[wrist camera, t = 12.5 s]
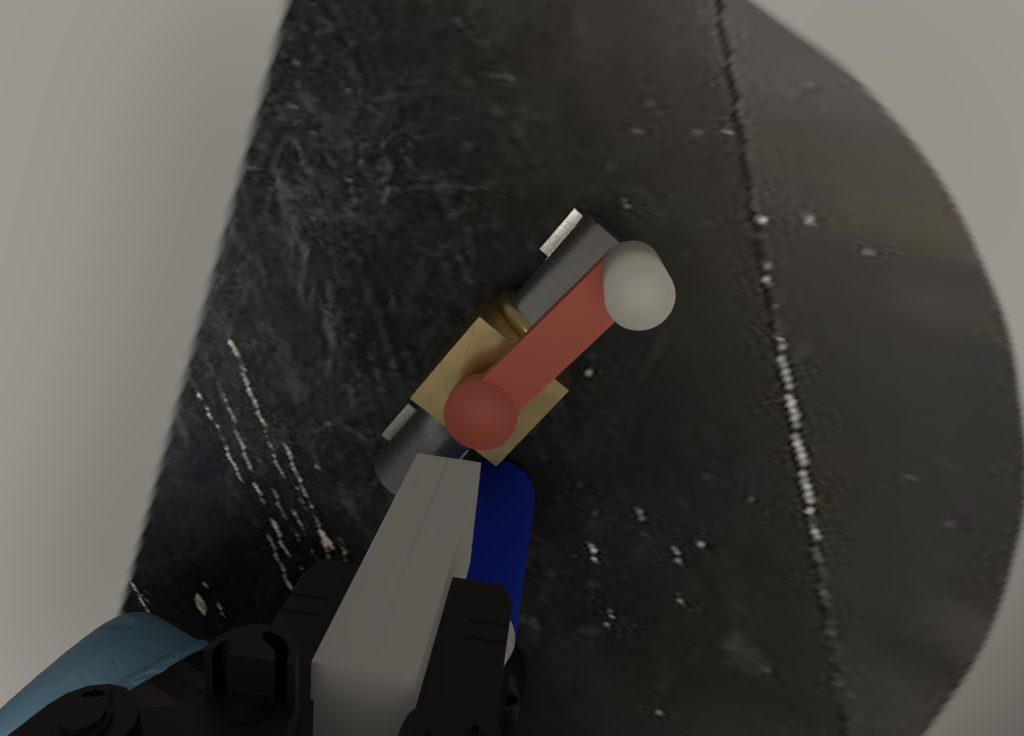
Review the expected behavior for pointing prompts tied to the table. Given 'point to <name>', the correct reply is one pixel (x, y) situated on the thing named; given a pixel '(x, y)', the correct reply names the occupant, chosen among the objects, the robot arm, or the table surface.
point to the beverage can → (502, 533)
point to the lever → (560, 342)
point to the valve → (493, 352)
